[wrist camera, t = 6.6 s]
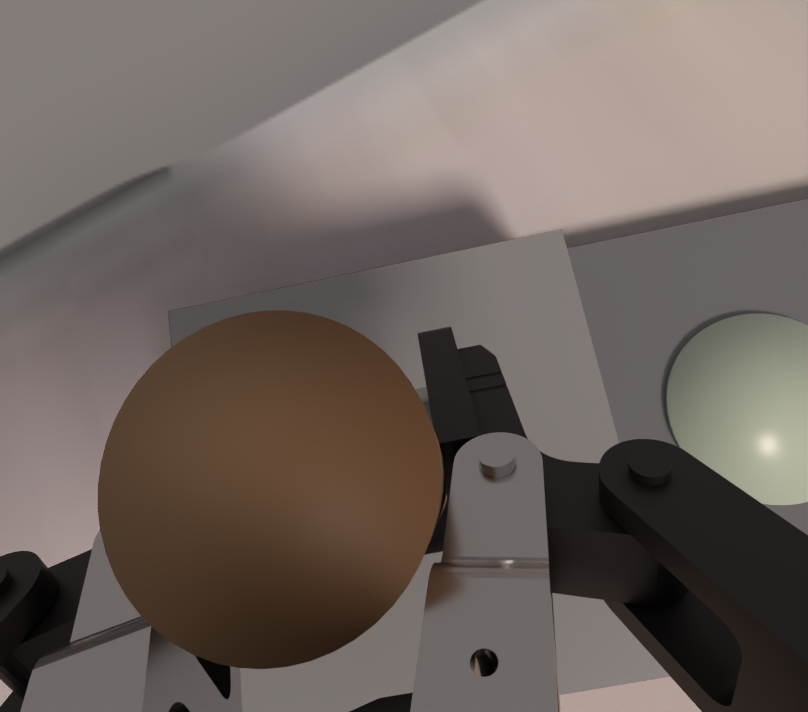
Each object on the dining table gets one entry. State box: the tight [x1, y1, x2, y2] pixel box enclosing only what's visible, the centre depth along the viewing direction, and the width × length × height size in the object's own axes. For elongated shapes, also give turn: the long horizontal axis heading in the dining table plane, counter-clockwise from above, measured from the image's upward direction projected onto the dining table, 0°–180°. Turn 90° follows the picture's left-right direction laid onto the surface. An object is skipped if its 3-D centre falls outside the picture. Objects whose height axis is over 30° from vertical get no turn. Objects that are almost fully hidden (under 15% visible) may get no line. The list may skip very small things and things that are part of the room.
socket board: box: [168, 199, 808, 712], centre depth 17 cm, size 23×13×4 cm, turn 100°
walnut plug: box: [98, 310, 447, 669], centre depth 11 cm, size 4×4×11 cm
